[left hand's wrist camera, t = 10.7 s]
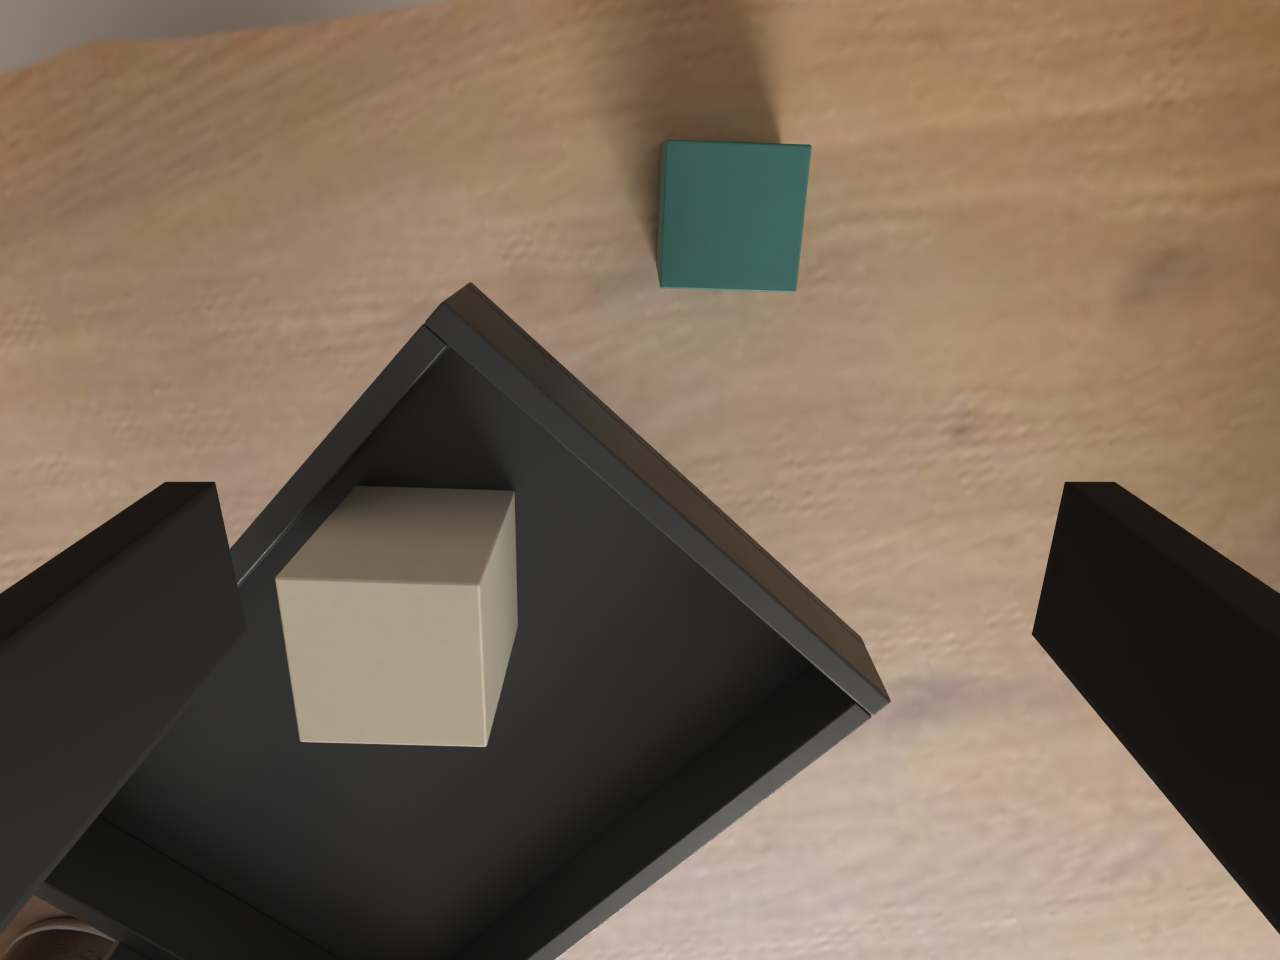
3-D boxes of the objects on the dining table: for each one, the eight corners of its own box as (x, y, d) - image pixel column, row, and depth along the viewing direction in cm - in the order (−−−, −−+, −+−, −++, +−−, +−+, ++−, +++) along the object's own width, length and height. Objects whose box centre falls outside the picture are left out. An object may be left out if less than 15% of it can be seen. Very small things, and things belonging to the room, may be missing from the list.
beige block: (514, 489, 25) (479, 583, 19) (518, 626, 27) (486, 748, 21) (355, 484, 25) (273, 577, 19) (369, 622, 27) (298, 742, 21)
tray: (470, 280, 23) (338, 374, 13) (861, 637, 28) (993, 913, 17) (24, 798, 30) (-288, 1121, 20) (394, 1013, 35) (293, 1366, 25)
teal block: (782, 146, 33) (812, 144, 27) (770, 270, 35) (796, 292, 29) (661, 142, 33) (666, 139, 27) (656, 266, 35) (660, 288, 29)
